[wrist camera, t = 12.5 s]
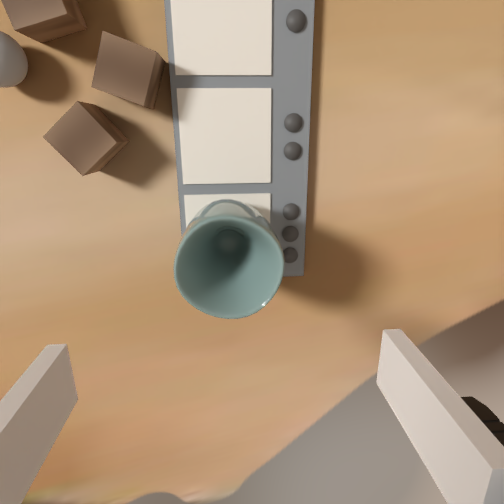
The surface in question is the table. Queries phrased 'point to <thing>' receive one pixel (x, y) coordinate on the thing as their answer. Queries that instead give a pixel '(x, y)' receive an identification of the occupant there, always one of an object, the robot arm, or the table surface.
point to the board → (243, 109)
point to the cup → (228, 260)
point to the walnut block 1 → (45, 18)
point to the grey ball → (11, 62)
